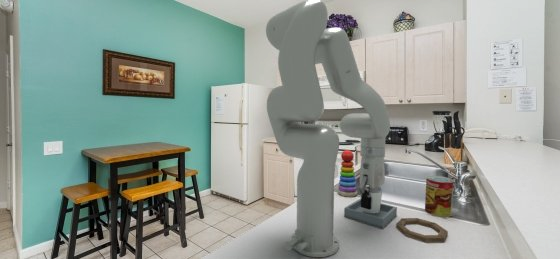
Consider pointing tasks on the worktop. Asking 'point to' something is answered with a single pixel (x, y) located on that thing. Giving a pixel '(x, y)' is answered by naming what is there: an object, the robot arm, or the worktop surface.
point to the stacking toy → (347, 175)
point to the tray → (371, 214)
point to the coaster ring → (420, 237)
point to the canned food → (439, 196)
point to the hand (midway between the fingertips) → (370, 204)
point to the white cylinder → (374, 201)
